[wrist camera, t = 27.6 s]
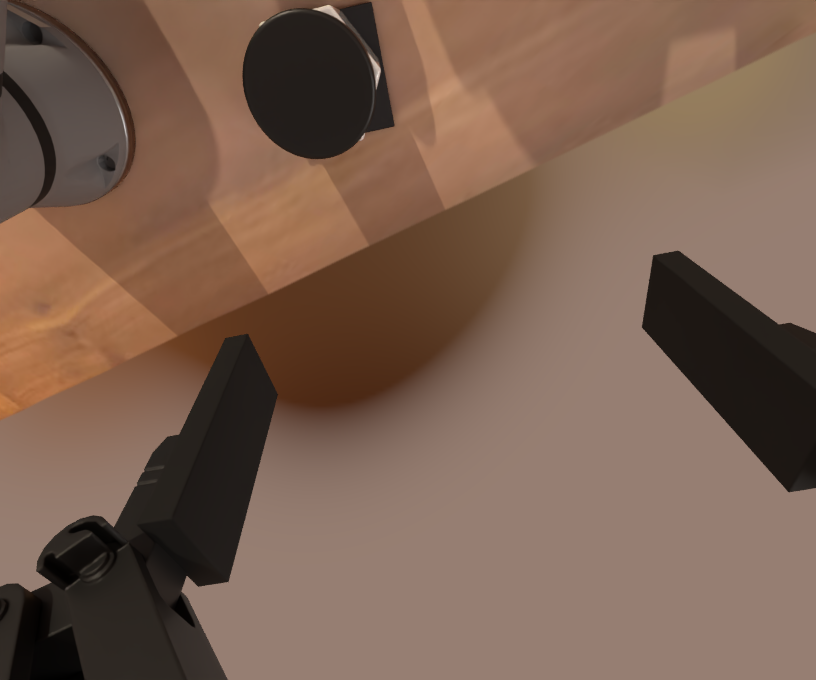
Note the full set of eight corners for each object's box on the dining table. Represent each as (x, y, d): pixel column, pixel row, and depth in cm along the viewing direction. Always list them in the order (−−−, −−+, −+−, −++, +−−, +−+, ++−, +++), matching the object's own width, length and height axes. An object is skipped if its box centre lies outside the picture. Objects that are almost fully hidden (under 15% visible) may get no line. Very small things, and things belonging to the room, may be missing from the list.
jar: (293, 137, 39) (266, 174, 30) (256, 28, 35) (210, 29, 25) (390, 114, 39) (395, 144, 29) (367, 0, 34) (364, -10, 24)
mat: (298, 146, 40) (297, 147, 40) (261, 27, 35) (260, 27, 35) (394, 125, 40) (394, 126, 39) (371, 2, 34) (371, 1, 34)
